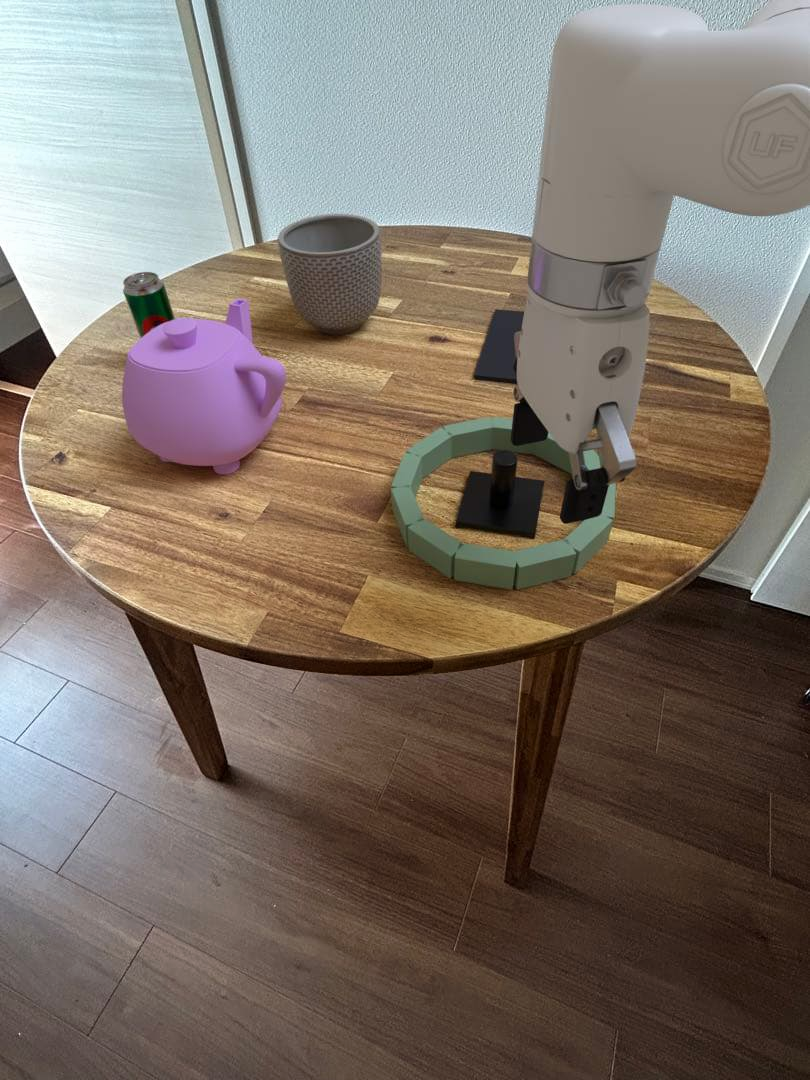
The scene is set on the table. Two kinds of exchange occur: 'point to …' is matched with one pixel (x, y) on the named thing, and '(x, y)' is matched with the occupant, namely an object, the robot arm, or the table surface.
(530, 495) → the post
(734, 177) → the robot arm
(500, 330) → the mat
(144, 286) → the soda can
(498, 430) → the hoop
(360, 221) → the planter
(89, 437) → the table surface
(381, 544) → the table surface
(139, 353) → the teapot
